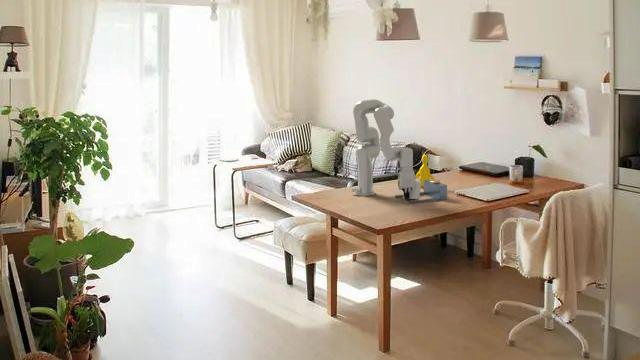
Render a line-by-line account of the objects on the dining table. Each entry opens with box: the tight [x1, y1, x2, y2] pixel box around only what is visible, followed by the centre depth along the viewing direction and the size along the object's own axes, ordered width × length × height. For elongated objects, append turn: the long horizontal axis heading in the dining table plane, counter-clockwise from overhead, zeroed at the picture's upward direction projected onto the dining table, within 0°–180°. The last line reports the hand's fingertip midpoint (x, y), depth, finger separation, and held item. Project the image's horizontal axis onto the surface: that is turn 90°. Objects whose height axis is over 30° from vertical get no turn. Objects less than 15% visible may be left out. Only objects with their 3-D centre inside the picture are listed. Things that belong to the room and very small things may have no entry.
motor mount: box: [394, 179, 448, 205], centre depth 356 cm, size 26×19×10 cm
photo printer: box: [402, 178, 422, 200], centre depth 356 cm, size 10×4×12 cm, turn 60°
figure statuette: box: [415, 154, 437, 188], centre depth 387 cm, size 18×8×22 cm, turn 93°
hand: (406, 198), depth 354 cm, fingers closed
